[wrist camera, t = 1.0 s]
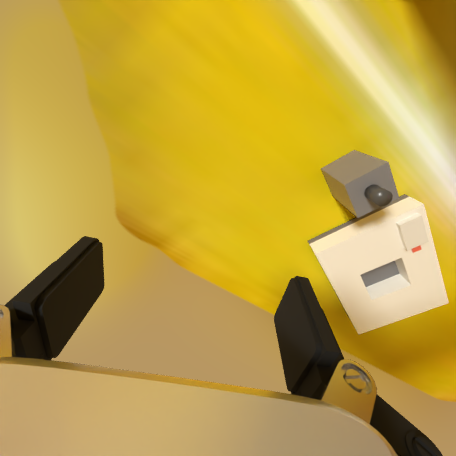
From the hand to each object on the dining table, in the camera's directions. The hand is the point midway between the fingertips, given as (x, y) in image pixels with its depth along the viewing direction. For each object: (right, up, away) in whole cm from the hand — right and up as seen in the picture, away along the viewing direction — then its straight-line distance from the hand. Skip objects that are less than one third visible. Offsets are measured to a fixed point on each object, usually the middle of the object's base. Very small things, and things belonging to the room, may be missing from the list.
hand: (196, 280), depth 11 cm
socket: (+28, -4, +31) cm, 42 cm away
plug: (+19, +11, +23) cm, 31 cm away
